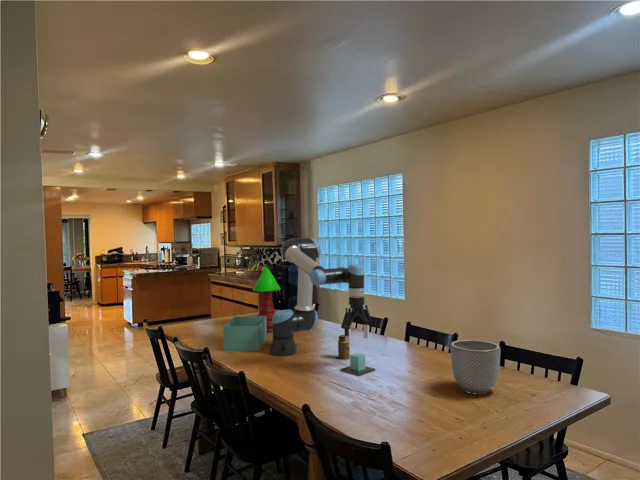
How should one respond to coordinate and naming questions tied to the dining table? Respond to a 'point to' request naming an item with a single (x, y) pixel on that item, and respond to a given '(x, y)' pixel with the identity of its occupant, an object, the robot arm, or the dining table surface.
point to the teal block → (357, 362)
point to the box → (245, 333)
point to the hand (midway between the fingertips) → (357, 340)
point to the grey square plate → (358, 373)
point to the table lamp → (267, 296)
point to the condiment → (342, 349)
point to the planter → (475, 364)
